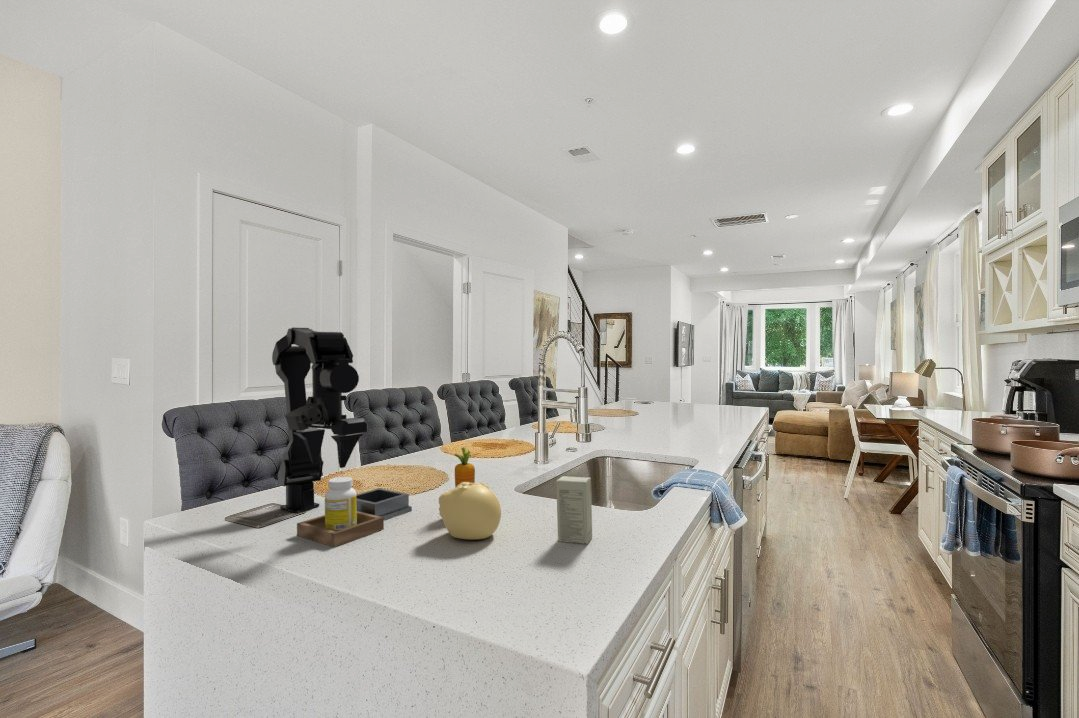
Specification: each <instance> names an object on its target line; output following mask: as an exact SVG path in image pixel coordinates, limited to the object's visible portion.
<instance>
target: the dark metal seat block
mask: <svg viewBox="0 0 1079 718" xmlns="http://www.w3.org/2000/svg"><path fill="white" fill-rule="evenodd" d="M409 495H410V494H409V493H406V492H400V491H396V490H392V489H391V490H390V489H385V488H374V489H371V490H368V491H364V492H361V493H356V500H357V511H359V512H363V513H367V514H371V515H376V516H380V517H384V521H386V520H389V519H392V518H394V517H398V516H400V515H404V514H406V513H410V512H412V511H413V507H412V506H411V505H409V504H410V501H409V500H410V498H409Z"/></svg>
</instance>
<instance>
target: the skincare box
mask: <svg viewBox="0 0 1079 718" xmlns="http://www.w3.org/2000/svg"><path fill="white" fill-rule="evenodd" d="M555 484H556V510H557V511H556V512H557V513H556V515H557V521H556V522H557V541H558V542H562V541H566V542H565V543H573V542H578V543H577V544H584V543H588V544H589V542H590V541H591V540H592V539H593V513H592V511H593V510H592V508H593V507H592V501H593V500H592V478H591V476H590V477H586V476H585V477H584V476H568V475H565V476H564V475H562V476H561V477H559V478H558V479H556V483H555Z"/></svg>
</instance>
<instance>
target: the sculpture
mask: <svg viewBox="0 0 1079 718" xmlns="http://www.w3.org/2000/svg"><path fill="white" fill-rule="evenodd" d="M438 503H439V507H438V510H439V516H440V518H441V519H442V522H443V523H444V526H445V528H446V530H447V531H448V533H449V535H450V536H451V537H453V538H456V539H459V540H461V539H462V540H482V539H486V538H489V537H491V536H492V535H493V534H494V533H495V532H496V531H497V529H498V527H499V525H500V522H501V518H502V508H501V503H500V501H499V499H498V497H497V495H496V494H495V493H494V491H492V490H491V489H490V487H489V485H487V484H485V483H484V482H475V483H469V482H462V483H460V484H458V485H457V486H456V488H455V487H454V488H452V489H450V490H448V491H445V492H444V493H442V494H440V496H439V497H438Z"/></svg>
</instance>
